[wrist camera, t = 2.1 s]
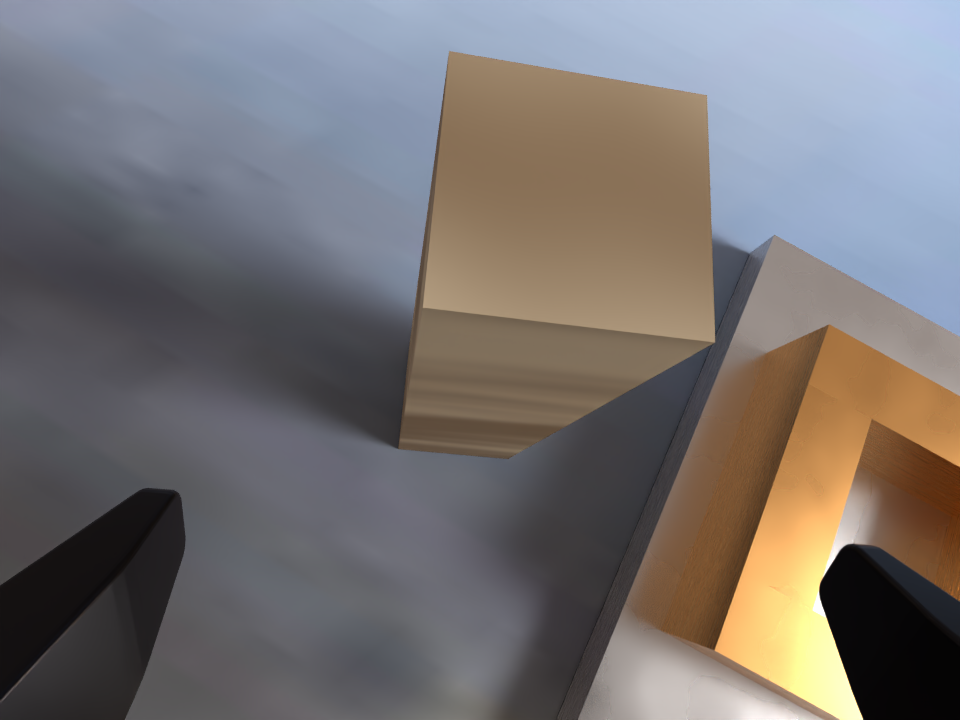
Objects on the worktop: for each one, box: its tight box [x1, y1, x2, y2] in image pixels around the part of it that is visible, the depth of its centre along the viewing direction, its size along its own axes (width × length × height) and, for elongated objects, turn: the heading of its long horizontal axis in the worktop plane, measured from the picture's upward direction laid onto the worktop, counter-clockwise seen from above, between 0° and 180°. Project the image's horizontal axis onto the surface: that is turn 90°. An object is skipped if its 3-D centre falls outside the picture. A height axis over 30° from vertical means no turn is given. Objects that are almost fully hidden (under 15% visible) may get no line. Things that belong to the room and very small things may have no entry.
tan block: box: [398, 51, 715, 459], centre depth 14 cm, size 4×4×13 cm
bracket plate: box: [556, 235, 960, 720], centre depth 18 cm, size 18×12×4 cm, turn 152°
